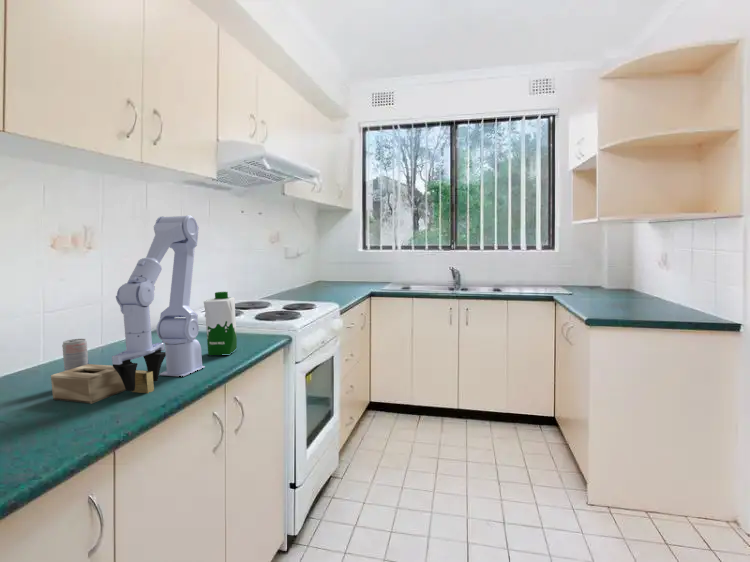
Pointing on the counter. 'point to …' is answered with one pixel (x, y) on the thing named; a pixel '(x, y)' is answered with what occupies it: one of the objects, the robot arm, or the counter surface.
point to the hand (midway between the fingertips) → (142, 385)
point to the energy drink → (75, 353)
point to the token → (143, 381)
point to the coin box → (86, 383)
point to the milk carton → (220, 324)
